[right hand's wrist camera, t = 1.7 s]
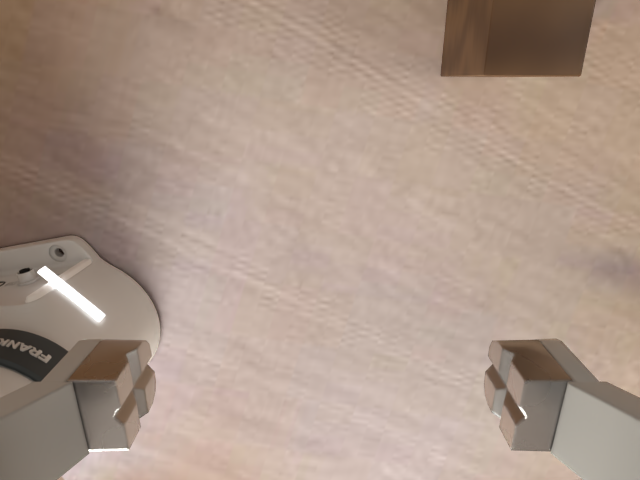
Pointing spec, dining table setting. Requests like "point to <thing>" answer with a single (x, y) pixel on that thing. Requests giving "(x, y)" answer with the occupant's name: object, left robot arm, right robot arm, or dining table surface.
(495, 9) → the box
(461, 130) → the dining table surface
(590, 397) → the right robot arm
